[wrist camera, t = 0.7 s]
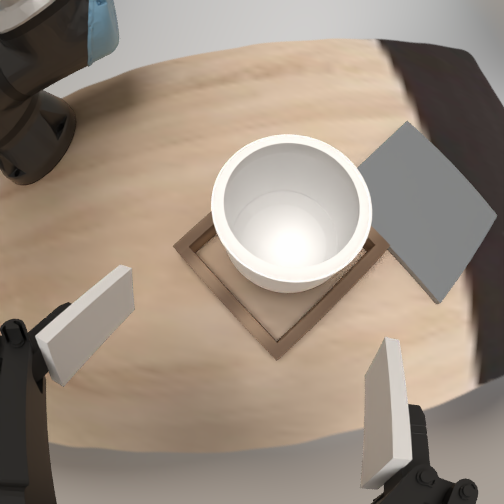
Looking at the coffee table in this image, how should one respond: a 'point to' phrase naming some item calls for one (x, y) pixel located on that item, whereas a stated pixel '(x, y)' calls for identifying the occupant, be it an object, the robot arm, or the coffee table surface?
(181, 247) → the collar
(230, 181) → the jar
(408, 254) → the board
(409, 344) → the coffee table surface
